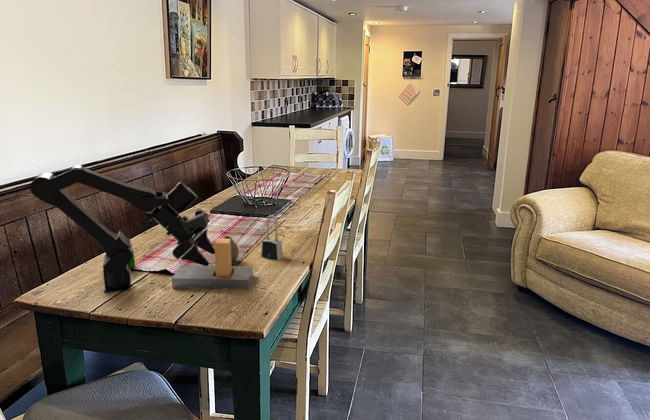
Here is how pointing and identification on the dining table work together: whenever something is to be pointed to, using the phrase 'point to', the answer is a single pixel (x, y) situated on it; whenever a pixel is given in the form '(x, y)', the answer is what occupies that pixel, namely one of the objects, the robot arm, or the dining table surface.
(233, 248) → the vase
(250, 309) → the dining table surface
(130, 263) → the rubik's cube
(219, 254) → the peg
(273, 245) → the padlock
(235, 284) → the rail
